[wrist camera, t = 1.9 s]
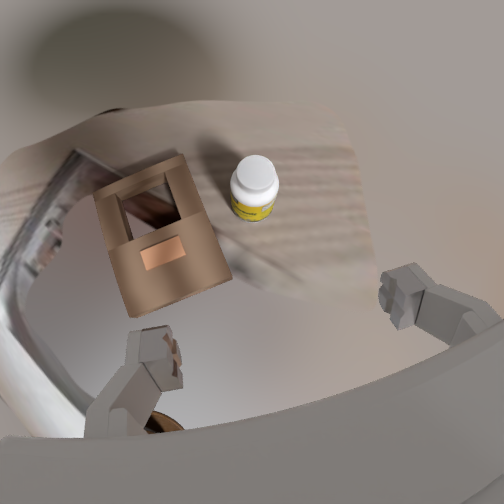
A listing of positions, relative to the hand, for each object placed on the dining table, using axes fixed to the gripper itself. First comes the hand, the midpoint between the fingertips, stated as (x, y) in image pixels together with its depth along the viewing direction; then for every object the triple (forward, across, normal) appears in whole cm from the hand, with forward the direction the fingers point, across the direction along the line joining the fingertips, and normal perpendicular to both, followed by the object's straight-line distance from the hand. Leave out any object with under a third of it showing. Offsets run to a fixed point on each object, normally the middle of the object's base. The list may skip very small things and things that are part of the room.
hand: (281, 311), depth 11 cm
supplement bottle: (+30, -3, +10) cm, 31 cm away
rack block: (+28, +9, +11) cm, 32 cm away
